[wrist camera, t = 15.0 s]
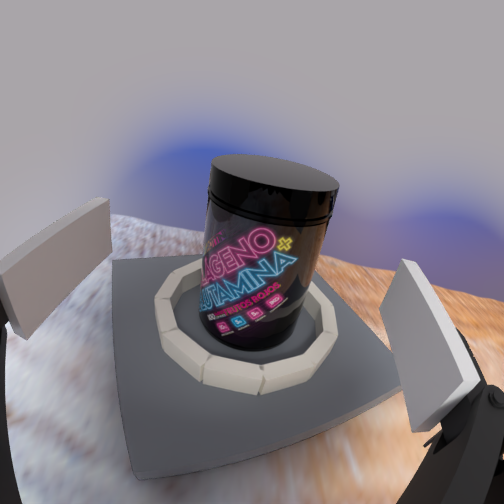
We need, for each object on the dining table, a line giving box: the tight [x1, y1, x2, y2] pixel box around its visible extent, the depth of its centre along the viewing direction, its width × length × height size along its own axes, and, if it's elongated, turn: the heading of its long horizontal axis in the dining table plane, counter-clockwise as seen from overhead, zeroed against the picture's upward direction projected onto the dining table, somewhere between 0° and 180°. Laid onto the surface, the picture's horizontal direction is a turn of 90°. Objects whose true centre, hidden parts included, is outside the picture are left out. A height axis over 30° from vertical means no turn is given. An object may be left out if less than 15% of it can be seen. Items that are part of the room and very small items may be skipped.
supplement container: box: [199, 154, 339, 352], centre depth 17 cm, size 7×7×10 cm
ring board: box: [112, 254, 402, 480], centre depth 20 cm, size 18×18×3 cm
